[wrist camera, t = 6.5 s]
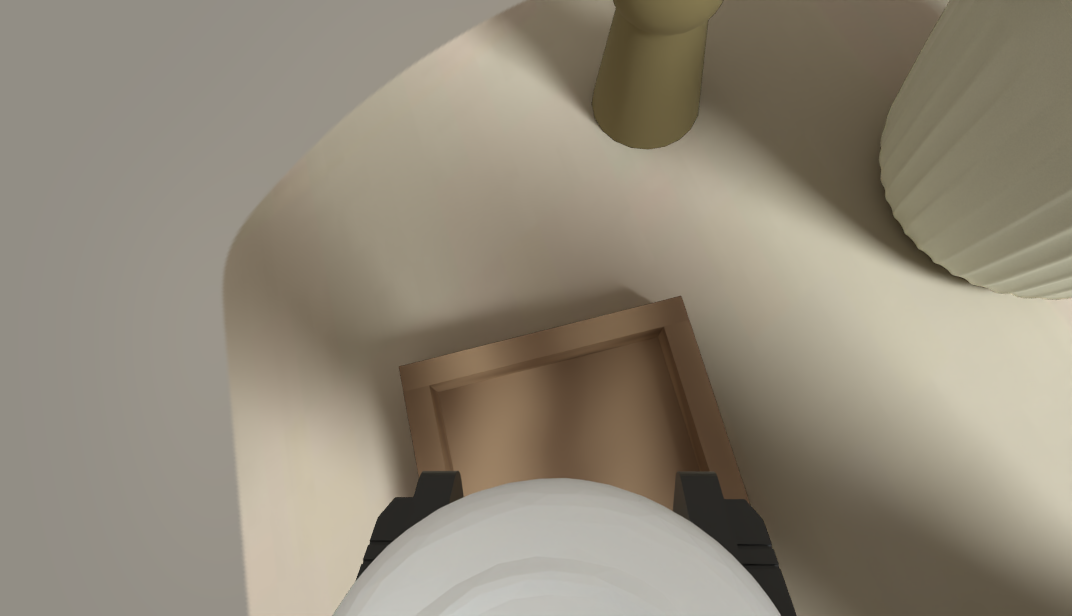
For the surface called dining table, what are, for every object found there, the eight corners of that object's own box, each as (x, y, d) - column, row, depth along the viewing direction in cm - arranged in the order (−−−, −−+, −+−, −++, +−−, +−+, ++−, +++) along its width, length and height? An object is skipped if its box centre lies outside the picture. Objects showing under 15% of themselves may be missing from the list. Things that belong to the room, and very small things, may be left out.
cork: (720, 89, 36) (783, -82, 25) (661, 168, 34) (701, 23, 24) (630, 40, 37) (654, -143, 26) (570, 114, 36) (570, -47, 25)
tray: (671, 313, 32) (681, 295, 29) (761, 593, 28) (783, 604, 25) (414, 378, 32) (398, 366, 29) (469, 669, 28) (457, 689, 25)
